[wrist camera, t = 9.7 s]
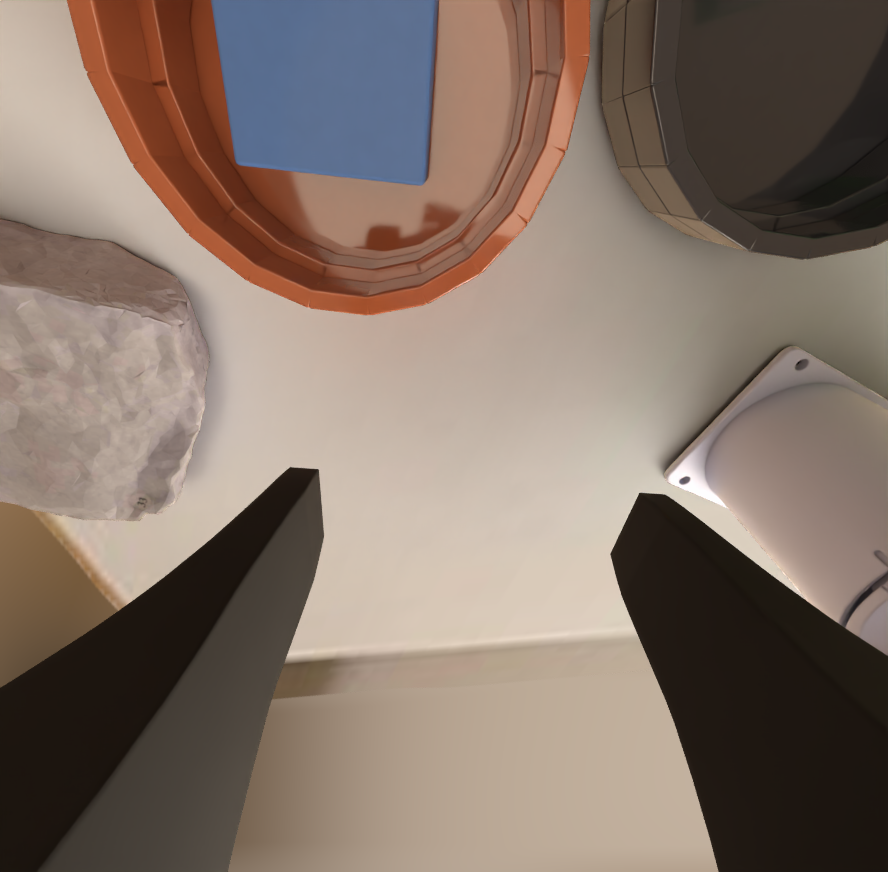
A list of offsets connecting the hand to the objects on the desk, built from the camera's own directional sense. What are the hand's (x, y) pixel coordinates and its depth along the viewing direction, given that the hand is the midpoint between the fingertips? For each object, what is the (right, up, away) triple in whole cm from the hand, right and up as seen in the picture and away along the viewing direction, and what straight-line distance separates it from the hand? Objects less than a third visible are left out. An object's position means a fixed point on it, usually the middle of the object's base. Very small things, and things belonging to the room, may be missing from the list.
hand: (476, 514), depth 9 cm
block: (-3, +12, +3) cm, 13 cm away
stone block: (-16, +5, +9) cm, 18 cm away
